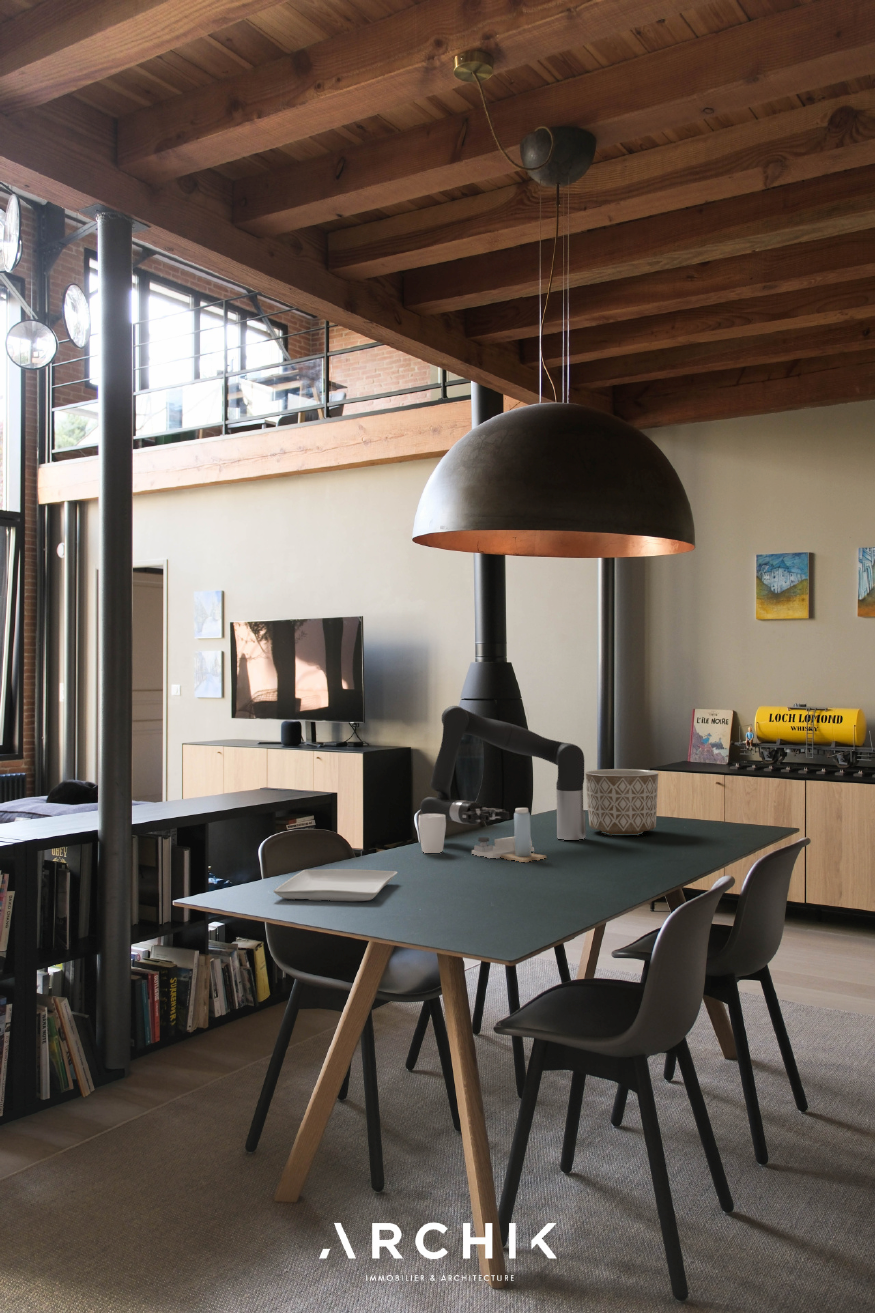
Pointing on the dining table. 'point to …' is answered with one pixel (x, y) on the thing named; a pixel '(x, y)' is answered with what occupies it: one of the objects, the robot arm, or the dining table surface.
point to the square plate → (335, 884)
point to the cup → (432, 832)
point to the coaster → (523, 859)
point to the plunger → (483, 841)
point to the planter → (622, 800)
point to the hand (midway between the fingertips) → (498, 816)
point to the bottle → (522, 832)
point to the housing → (497, 848)
